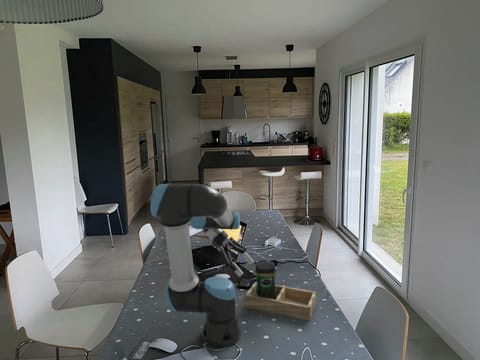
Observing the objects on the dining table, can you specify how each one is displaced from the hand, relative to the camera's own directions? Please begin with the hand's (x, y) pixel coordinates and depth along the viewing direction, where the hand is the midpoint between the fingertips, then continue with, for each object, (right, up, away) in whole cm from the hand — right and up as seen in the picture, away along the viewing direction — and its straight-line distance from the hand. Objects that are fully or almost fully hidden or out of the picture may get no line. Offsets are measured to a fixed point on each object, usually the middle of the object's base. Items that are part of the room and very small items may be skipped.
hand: (247, 269), depth 168 cm
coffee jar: (+9, -14, -1) cm, 17 cm away
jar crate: (+16, -16, -4) cm, 22 cm away
